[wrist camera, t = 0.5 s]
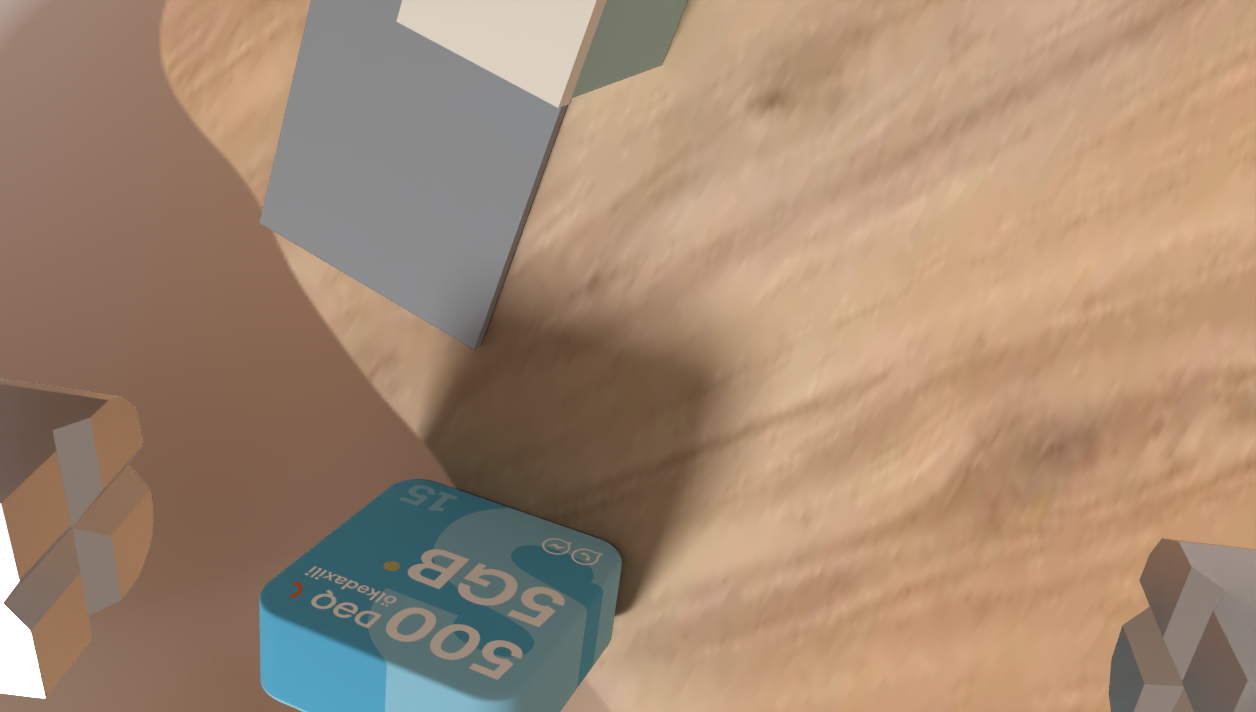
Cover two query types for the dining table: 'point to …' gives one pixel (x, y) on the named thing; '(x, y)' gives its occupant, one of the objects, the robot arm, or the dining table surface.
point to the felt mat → (406, 164)
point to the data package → (438, 609)
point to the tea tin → (551, 39)
